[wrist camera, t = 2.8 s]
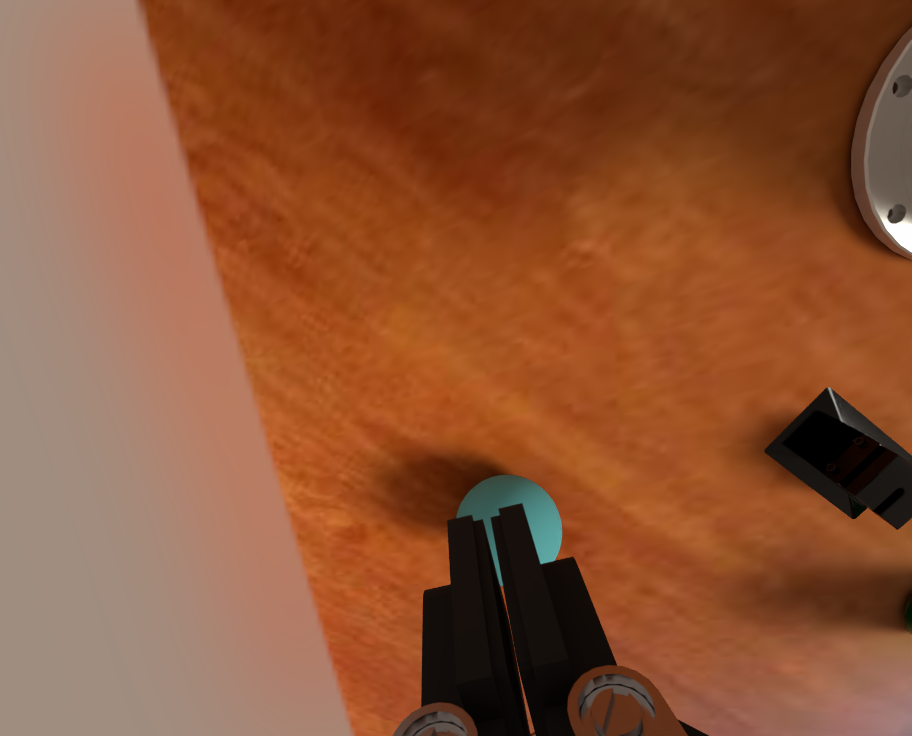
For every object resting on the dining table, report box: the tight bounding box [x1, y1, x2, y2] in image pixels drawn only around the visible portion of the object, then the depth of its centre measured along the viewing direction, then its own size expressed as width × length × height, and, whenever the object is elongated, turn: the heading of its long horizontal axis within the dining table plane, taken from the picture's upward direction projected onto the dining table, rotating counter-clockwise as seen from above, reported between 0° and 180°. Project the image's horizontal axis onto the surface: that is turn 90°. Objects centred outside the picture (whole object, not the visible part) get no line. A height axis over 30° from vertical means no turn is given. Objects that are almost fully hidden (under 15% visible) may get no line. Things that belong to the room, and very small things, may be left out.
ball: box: [456, 475, 562, 586], centre depth 27 cm, size 6×6×6 cm
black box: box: [765, 387, 912, 530], centre depth 29 cm, size 12×7×5 cm, turn 54°
